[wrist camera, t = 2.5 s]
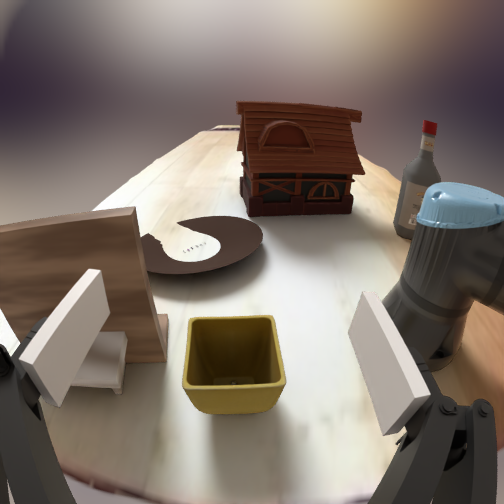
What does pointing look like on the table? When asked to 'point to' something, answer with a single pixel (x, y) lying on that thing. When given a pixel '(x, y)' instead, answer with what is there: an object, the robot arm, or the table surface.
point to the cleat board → (68, 274)
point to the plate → (220, 227)
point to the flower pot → (233, 364)
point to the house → (297, 158)
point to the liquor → (416, 183)
